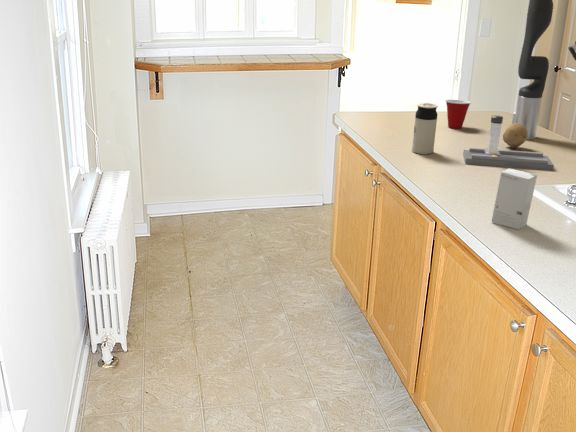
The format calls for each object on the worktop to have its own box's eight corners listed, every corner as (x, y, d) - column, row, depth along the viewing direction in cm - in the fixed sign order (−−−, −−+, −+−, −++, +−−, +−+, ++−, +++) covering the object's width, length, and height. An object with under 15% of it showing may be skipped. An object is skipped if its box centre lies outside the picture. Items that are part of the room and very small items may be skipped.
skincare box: (491, 222, 184) (498, 171, 179) (500, 217, 188) (507, 167, 183) (520, 230, 179) (529, 178, 174) (528, 224, 184) (537, 173, 178)
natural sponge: (526, 152, 255) (531, 126, 251) (502, 150, 257) (506, 125, 253) (523, 146, 263) (527, 121, 260) (500, 144, 265) (504, 120, 261)
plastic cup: (468, 126, 293) (472, 99, 289) (466, 131, 284) (470, 103, 280) (443, 123, 297) (446, 97, 292) (440, 128, 287) (444, 101, 283)
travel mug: (435, 150, 253) (440, 104, 247) (430, 155, 246) (435, 107, 240) (414, 148, 256) (419, 101, 250) (409, 152, 249) (414, 105, 243)
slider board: (546, 161, 244) (547, 152, 243) (552, 170, 233) (554, 161, 232) (463, 154, 249) (464, 146, 248) (465, 163, 238) (466, 154, 236)
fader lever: (497, 153, 243) (503, 115, 238) (499, 157, 238) (505, 119, 233) (483, 152, 244) (489, 114, 239) (485, 156, 239) (490, 118, 233)
